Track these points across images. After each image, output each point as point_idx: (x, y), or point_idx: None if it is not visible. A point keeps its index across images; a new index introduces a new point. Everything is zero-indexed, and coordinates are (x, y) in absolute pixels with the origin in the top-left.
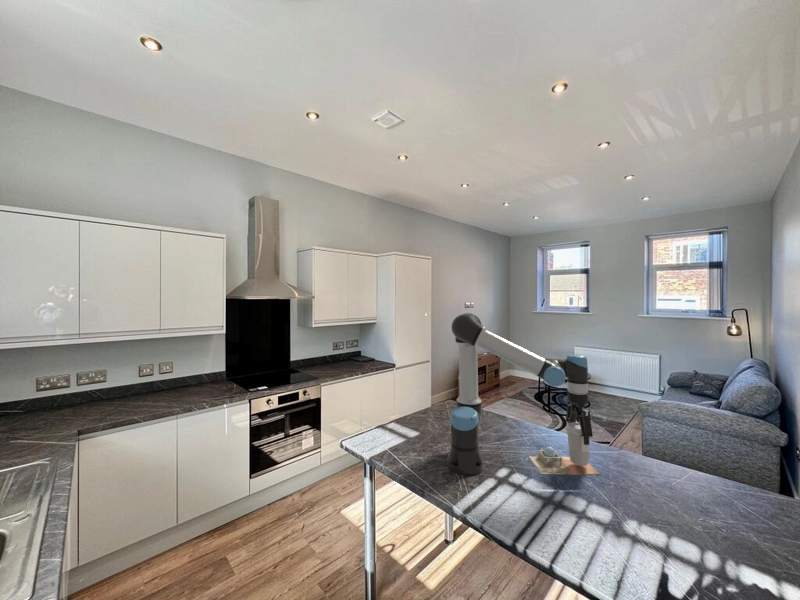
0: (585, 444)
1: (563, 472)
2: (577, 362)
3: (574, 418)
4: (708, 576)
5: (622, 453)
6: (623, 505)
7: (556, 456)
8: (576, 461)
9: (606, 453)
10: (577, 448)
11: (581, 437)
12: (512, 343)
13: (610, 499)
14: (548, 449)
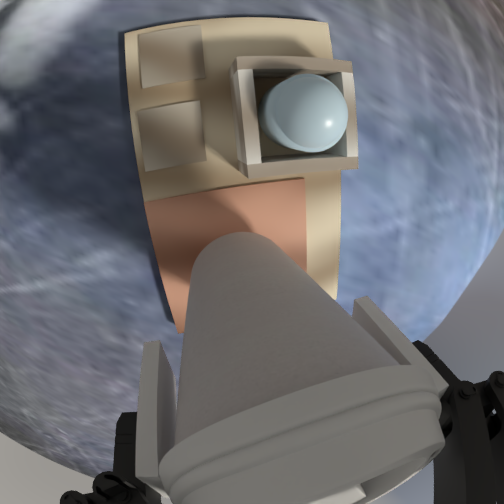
0: (121, 417)
1: (146, 156)
2: None
3: (444, 494)
4: None
5: None
6: (12, 323)
7: (294, 157)
8: (198, 262)
9: None
10: (188, 328)
11: (148, 455)
12: None
13: (22, 300)
14: (300, 92)
